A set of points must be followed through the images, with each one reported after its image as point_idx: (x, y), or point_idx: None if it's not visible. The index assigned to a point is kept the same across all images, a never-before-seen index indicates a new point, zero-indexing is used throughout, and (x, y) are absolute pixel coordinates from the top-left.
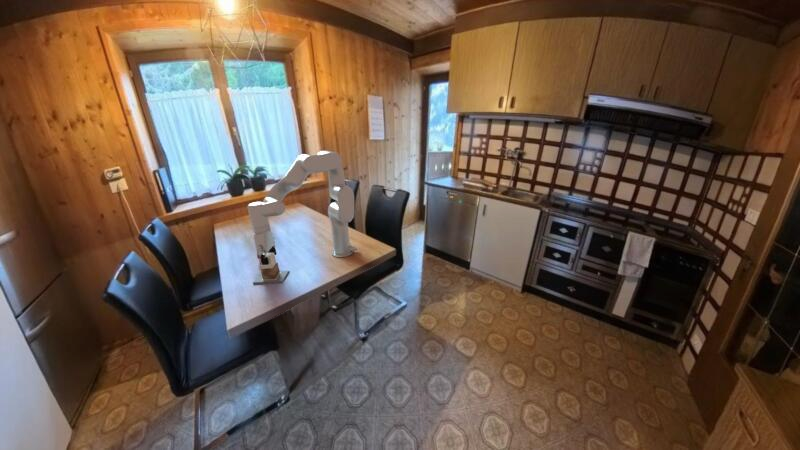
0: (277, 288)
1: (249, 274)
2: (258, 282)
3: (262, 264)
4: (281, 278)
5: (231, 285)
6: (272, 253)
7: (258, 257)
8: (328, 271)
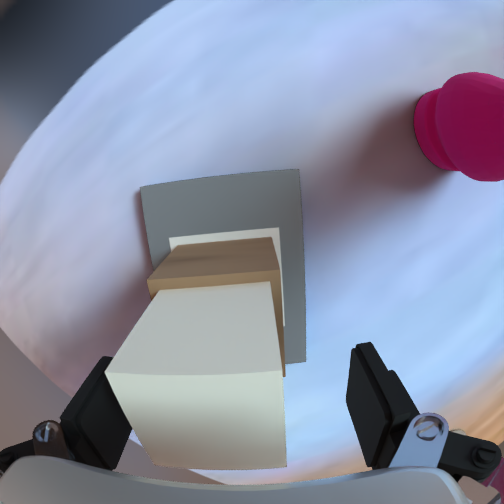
0: None
1: (276, 77)
2: (146, 226)
3: (104, 362)
4: None
5: (133, 48)
6: (263, 463)
7: (447, 89)
8: (293, 476)
